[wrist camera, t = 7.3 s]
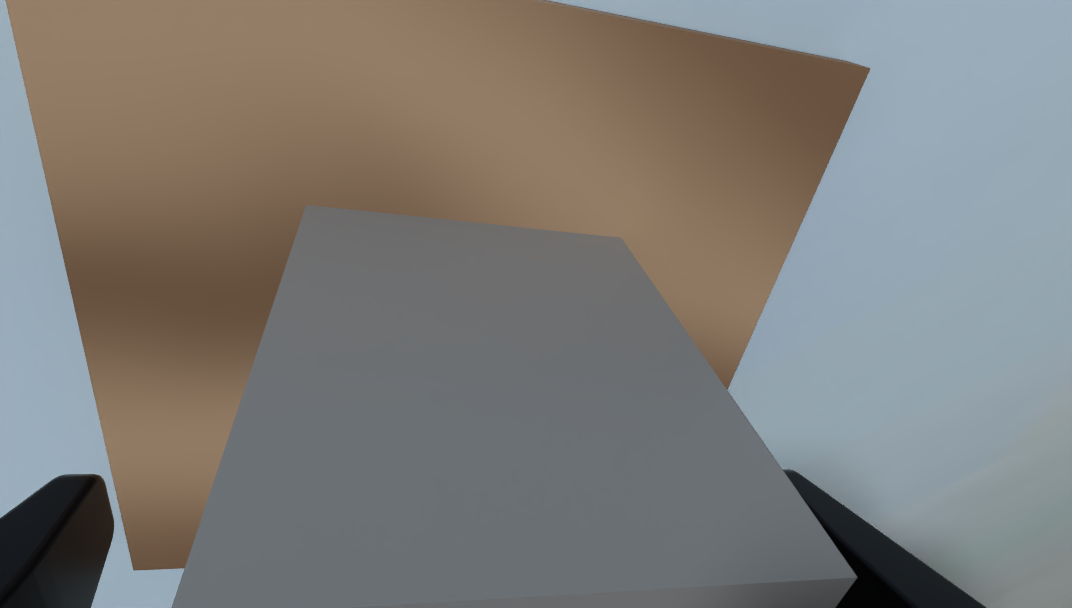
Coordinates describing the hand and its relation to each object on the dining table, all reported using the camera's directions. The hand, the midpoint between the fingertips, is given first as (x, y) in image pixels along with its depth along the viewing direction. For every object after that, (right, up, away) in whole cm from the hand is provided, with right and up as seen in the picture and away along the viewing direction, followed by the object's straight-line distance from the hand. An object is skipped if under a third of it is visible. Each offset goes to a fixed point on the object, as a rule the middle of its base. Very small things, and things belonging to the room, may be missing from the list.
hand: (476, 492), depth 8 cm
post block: (-1, +2, +3) cm, 4 cm away
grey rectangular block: (-1, +2, +3) cm, 3 cm away
